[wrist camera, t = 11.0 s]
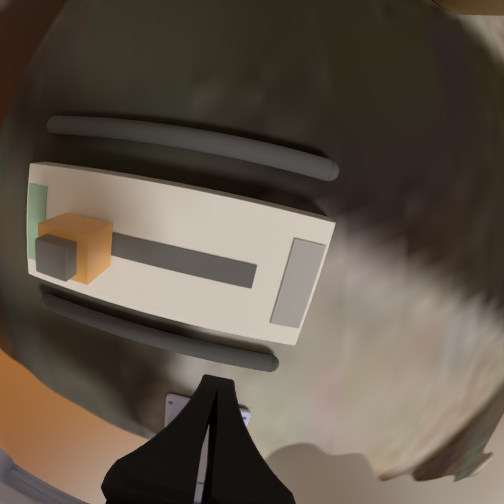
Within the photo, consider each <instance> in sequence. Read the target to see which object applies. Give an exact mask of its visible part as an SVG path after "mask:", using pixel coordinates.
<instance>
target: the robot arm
mask: <svg viewBox="0 0 504 504" xmlns="http://www.w3.org/2000/svg"><path fill="white" fill-rule="evenodd" d="M171 401H172V402H171ZM250 416H251V412H250V411H249V410H247V409H241V408H239V405H238V401H237V397H236V392H235V385H234V381H233V380H231V379H226V378H221V377H216V376H212V375H207V374H205V375H203V377H202V380H201V382H200V384H199V386H198V388H197V389H196V391H195V393H194V394H193V396H192V397H191V398H187V397H183V396H179V395H175V394H167V397H166V406H165V425H164V429H163V430H162V431H160V432H159V433H158V434H157V435H156V436H155V437H153V438H152V439H151V440H149V441H148V442H146V443H145V444H144V445H142V446H141V447H139V448H138V449H136V450H135V451H133V452H131V453H129V454H127V455H126V456H124V457H122V458H120V459H118V460H117V461H116V462H115V463H114V464H113V465H112V467H111V468H110V469H109V471H108V472H107V474H106V476H105V478H104V480H103V483H102V485H101V490H102V492H103V494H104V496H105V498H106V500H107V501H106V503H105V504H296V503H295V500H294V497H293V494H292V492H290V491H289V490H288V488H287V487H285V485H284V484H283V483H282V482H281V481H280V480H279V479H278V478H277V476H276V475H275V474H274V473H273V472H272V470H271V469H270V468H269V466H268V465H267V463H266V462H265V461H264V459H263V458H262V456H261V455H260V453H259V451H258V450H257V448H256V446H255V444H254V442H253V441H252V439H251V437H250V434H249V432H248V430H247V428H246V426H247V424H248V421H249V418H250ZM0 504H89V503H86V502H84V501H81V500H80V499H77V498H75V497H73V496H71V495H69V494H67V493H65V492H63V491H61V490H59V489H57V488H55V487H53V486H51V485H50V484H48V483H46V482H44V481H42V480H41V479H39V478H37V477H35V476H34V475H32V474H30V473H29V472H27V471H26V470H24V469H22V468H21V467H19V466H18V465H16V464H15V463H14V461H13V460H12V458H11V457H10V456H9V455H8V454H7V453H6V452H4V451H3V450H2V449H0Z"/></svg>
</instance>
